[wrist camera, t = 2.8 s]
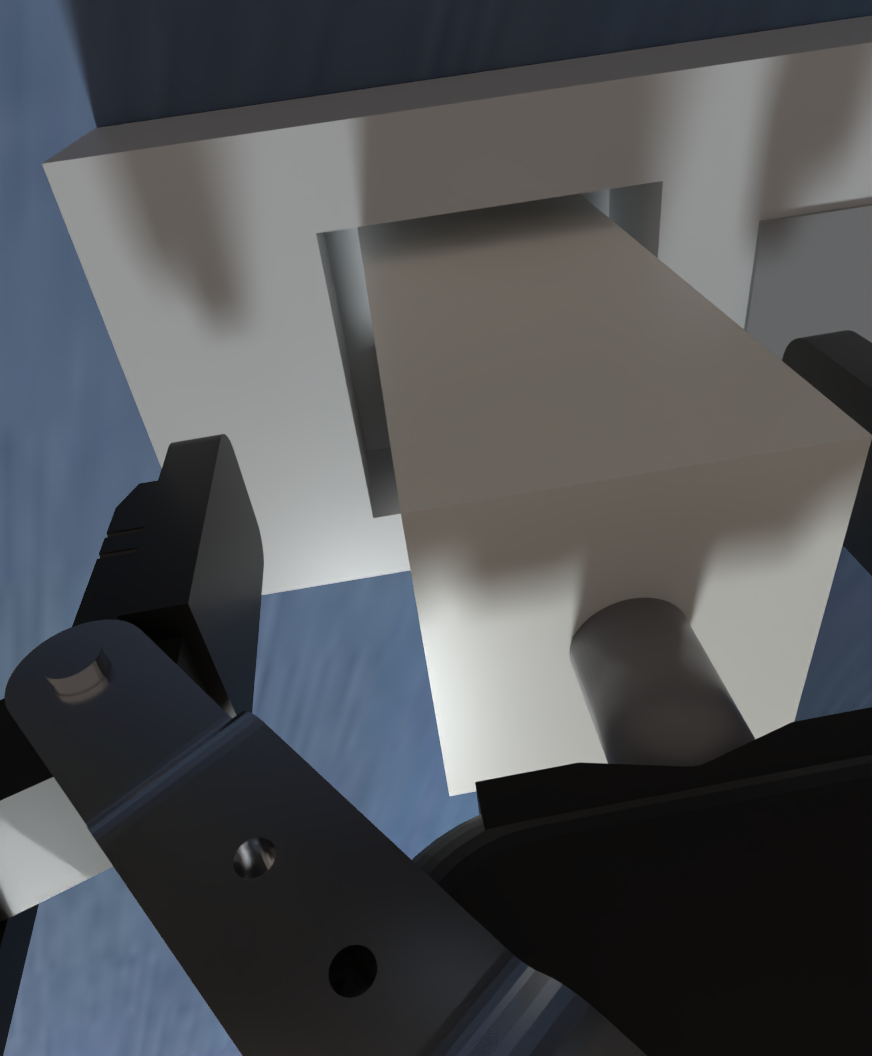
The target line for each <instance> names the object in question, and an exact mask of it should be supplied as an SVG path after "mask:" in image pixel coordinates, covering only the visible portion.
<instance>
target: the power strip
mask: <svg viewBox="0 0 872 1056" xmlns="http://www.w3.org/2000/svg"><path fill="white" fill-rule="evenodd" d="M42 165H43V167H44V170H45V173H46V175H47V178H48V180H49V183H50V185H51V188H52V190H53V193H54V195H55V198H56V201H57V203H58V206H59V208H60V211H61V213H62V216H63V218H64V221H65V223H66V226H67V229H68V231H69V234H70V236H71V239H72V241H73V244H74V246H75V249H76V252H77V254H78V257H79V259H80V262H81V264H82V267H83V269H84V272H85V274H86V277H87V280H88V282H89V285H90V287H91V290H92V292H93V295H94V297H95V300H96V302H97V305H98V308H99V310H100V313H101V315H102V318H103V320H104V323H105V325H106V328H107V330H108V333H109V336H110V338H111V341H112V343H113V346H114V348H115V351H116V353H117V356H118V359H119V361H120V364H121V366H122V369H123V371H124V374H125V376H126V379H127V381H128V384H129V387H130V389H131V392H132V394H133V397H134V399H135V402H136V404H137V407H138V409H139V412H140V415H141V417H142V420H143V422H144V425H145V427H146V430H147V432H148V435H149V437H150V440H151V443H152V445H153V448H154V450H155V453H156V455H157V458H158V460H159V463H160V465H161V468H162V466H163V463H164V460H165V457H166V453H167V450H168V447H169V445H170V444H171V443H172V442H178V441H184V440H190V439H196V438H202V437H208V436H214V435H220V434H226V435H227V437H228V438H229V440H230V442H231V444H232V446H233V449H234V452H235V455H236V458H237V461H238V464H239V467H240V470H241V474H242V477H243V480H244V483H245V486H246V489H247V492H248V495H249V498H250V501H251V504H252V507H253V510H254V513H255V517H256V520H257V523H258V526H259V530H260V535H261V540H262V546H263V554H264V570H263V583H262V595H265V594H271V593H277V592H283V591H289V590H295V589H301V588H307V587H313V586H319V585H325V584H331V583H337V582H343V581H349V580H355V579H361V578H367V577H373V576H379V575H385V574H391V573H397V572H403V571H409V570H410V564H409V558H408V552H407V546H406V541H405V535H404V529H403V523H402V518H401V512H400V505H399V498H398V492H397V485H396V479H395V472H394V465H393V459H392V452H391V446H390V439H389V433H388V426H387V419H386V413H385V406H384V400H383V393H382V387H381V380H380V373H379V367H378V360H377V354H376V347H375V340H374V334H373V327H372V321H371V314H370V308H369V301H368V294H367V288H366V281H365V275H364V268H363V261H362V255H361V248H360V242H359V235H358V229H357V227H362V226H368V225H375V224H382V223H388V222H395V221H401V220H408V219H415V218H421V217H428V216H434V215H441V214H448V213H454V212H461V211H467V210H474V209H481V208H487V207H494V206H501V205H507V204H514V203H520V202H527V201H534V200H540V199H547V198H553V197H560V196H567V195H573V194H580V195H582V196H583V197H584V198H585V199H587V200H588V201H589V202H590V203H591V204H593V205H594V206H595V207H596V208H597V209H599V210H600V211H601V212H602V213H603V214H605V215H606V216H607V217H608V218H610V219H611V220H612V221H613V222H614V223H616V224H617V225H618V226H619V227H620V228H622V229H623V230H624V231H625V232H627V233H628V234H629V235H630V236H631V237H633V238H634V239H635V240H636V241H637V242H639V243H640V244H641V245H642V246H643V247H645V248H646V249H647V250H648V251H650V252H651V253H652V254H653V255H654V256H656V257H657V258H658V259H659V260H660V261H662V262H663V263H664V264H665V265H666V266H668V267H669V268H670V269H671V270H673V271H674V272H675V273H676V274H677V275H679V276H680V277H681V278H682V279H683V280H685V281H686V282H687V283H688V284H690V285H691V286H692V287H693V288H694V289H696V290H697V291H698V292H699V293H700V294H702V295H703V296H704V297H705V298H706V299H708V300H709V301H710V302H711V303H713V304H714V305H715V306H716V307H717V308H719V309H720V310H721V311H722V312H723V313H725V314H726V315H727V316H728V317H729V318H731V319H732V320H733V321H734V322H736V323H737V324H738V325H739V326H740V327H742V328H743V329H744V330H745V331H746V332H748V333H749V334H750V335H751V336H753V337H754V338H755V339H756V340H757V341H759V342H760V343H761V344H762V345H763V346H765V347H766V348H767V349H768V350H769V351H771V352H772V353H773V354H774V355H776V356H777V357H778V358H779V359H780V360H782V358H783V354H784V352H785V349H786V347H787V346H788V344H789V343H790V342H791V341H792V340H794V339H797V338H802V337H808V336H814V335H820V334H826V333H832V332H838V331H844V330H851V331H854V332H856V333H857V334H859V335H860V336H862V337H864V338H865V339H867V340H868V341H870V342H871V343H872V16H865V17H858V18H851V19H844V20H837V21H830V22H823V23H817V24H810V25H803V26H796V27H789V28H782V29H775V30H768V31H761V32H755V33H748V34H741V35H734V36H727V37H720V38H713V39H706V40H699V41H692V42H686V43H679V44H672V45H665V46H658V47H651V48H644V49H637V50H630V51H624V52H617V53H610V54H603V55H596V56H589V57H582V58H575V59H568V60H561V61H555V62H548V63H541V64H534V65H527V66H520V67H513V68H506V69H499V70H492V71H486V72H479V73H472V74H465V75H458V76H451V77H444V78H437V79H430V80H424V81H417V82H410V83H403V84H396V85H389V86H382V87H375V88H368V89H361V90H355V91H348V92H341V93H334V94H327V95H320V96H313V97H306V98H299V99H293V100H286V101H279V102H272V103H265V104H258V105H251V106H244V107H237V108H230V109H224V110H217V111H210V112H203V113H196V114H189V115H182V116H175V117H168V118H162V119H155V120H148V121H141V122H134V123H127V124H120V125H113V126H106V127H99V128H95V129H94V130H92V131H91V132H89V133H88V134H86V135H85V136H83V137H82V138H80V139H79V140H77V141H76V142H74V143H73V144H71V145H70V146H68V147H67V148H65V149H63V150H62V151H60V152H59V153H57V154H56V155H54V156H53V157H51V158H50V159H48V160H47V161H45V162H44V163H42Z"/></svg>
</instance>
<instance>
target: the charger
mask: <svg viewBox="0 0 872 1056" xmlns="http://www.w3.org/2000/svg"><path fill="white" fill-rule="evenodd" d="M357 229H358V235H359V242H360V248H361V255H362V261H363V268H364V275H365V281H366V288H367V294H368V301H369V308H370V314H371V321H372V327H373V334H374V340H375V347H376V354H377V360H378V367H379V373H380V380H381V387H382V393H383V400H384V406H385V413H386V419H387V426H388V433H389V439H390V446H391V452H392V459H393V465H394V472H395V479H396V485H397V492H398V498H399V505H400V512H401V518H402V523H403V529H404V535H405V541H406V546H407V552H408V558H409V564H410V570H411V575H412V581H413V587H414V593H415V599H416V604H417V610H418V616H419V622H420V628H421V633H422V639H423V645H424V651H425V657H426V662H427V668H428V674H429V680H430V685H431V691H432V697H433V703H434V709H435V714H436V720H437V726H438V732H439V738H440V743H441V749H442V755H443V761H444V767H445V772H446V778H447V784H448V790H449V796H453V795H459V794H464V793H470V792H476V785H475V782H478V781H483V780H488V779H494V778H499V777H504V776H510V775H515V774H520V773H526V772H531V771H536V770H541V769H547V768H552V767H557V766H563V765H568V764H573V763H579V762H581V763H607V764H633V765H659V766H697V765H701V764H704V763H707V762H709V761H711V760H713V759H715V758H717V757H720V756H722V755H724V754H726V753H728V752H730V751H732V750H734V749H736V748H739V747H741V746H743V745H745V744H747V743H749V742H751V741H753V740H755V739H757V738H760V737H762V736H764V735H766V734H768V733H770V732H772V731H774V730H776V729H778V728H781V727H783V726H785V725H787V724H789V723H791V722H794V720H795V717H796V713H797V709H798V706H799V702H800V699H801V695H802V691H803V688H804V684H805V680H806V677H807V673H808V669H809V666H810V662H811V658H812V655H813V651H814V648H815V644H816V640H817V637H818V633H819V629H820V626H821V622H822V618H823V615H824V611H825V607H826V604H827V600H828V597H829V593H830V589H831V586H832V582H833V578H834V575H835V571H836V567H837V564H838V560H839V557H840V553H841V549H842V546H843V542H844V538H845V535H846V531H847V527H848V524H849V520H850V516H851V513H852V509H853V506H854V502H855V498H856V495H857V491H858V487H859V484H860V480H861V476H862V473H863V469H864V465H865V462H866V458H867V455H868V451H869V447H870V444H871V440H872V435H871V434H870V433H869V432H868V431H866V430H865V429H864V428H863V427H862V426H860V425H859V424H858V423H857V422H855V421H854V420H853V419H852V418H851V417H849V416H848V415H847V414H846V413H845V412H843V411H842V410H841V409H840V408H839V407H837V406H836V405H835V404H834V403H832V402H831V401H830V400H829V399H828V398H826V397H825V396H824V395H823V394H822V393H820V392H819V391H818V390H817V389H816V388H814V387H813V386H812V385H811V384H809V383H808V382H807V381H806V380H805V379H803V378H802V377H801V376H800V375H799V374H797V373H796V372H795V371H794V370H792V369H791V368H790V367H789V366H788V365H786V364H785V363H784V362H783V361H782V360H780V359H779V358H778V357H777V356H776V355H774V354H773V353H772V352H771V351H769V350H768V349H767V348H766V347H765V346H763V345H762V344H761V343H760V342H759V341H757V340H756V339H755V338H754V337H753V336H751V335H750V334H749V333H748V332H746V331H745V330H744V329H743V328H742V327H740V326H739V325H738V324H737V323H736V322H734V321H733V320H732V319H731V318H729V317H728V316H727V315H726V314H725V313H723V312H722V311H721V310H720V309H719V308H717V307H716V306H715V305H714V304H713V303H711V302H710V301H709V300H708V299H706V298H705V297H704V296H703V295H702V294H700V293H699V292H698V291H697V290H696V289H694V288H693V287H692V286H691V285H690V284H688V283H687V282H686V281H685V280H683V279H682V278H681V277H680V276H679V275H677V274H676V273H675V272H674V271H673V270H671V269H670V268H669V267H668V266H666V265H665V264H664V263H663V262H662V261H660V260H659V259H658V258H657V257H656V256H654V255H653V254H652V253H651V252H650V251H648V250H647V249H646V248H645V247H643V246H642V245H641V244H640V243H639V242H637V241H636V240H635V239H634V238H633V237H631V236H630V235H629V234H628V233H627V232H625V231H624V230H623V229H622V228H620V227H619V226H618V225H617V224H616V223H614V222H613V221H612V220H611V219H610V218H608V217H607V216H606V215H605V214H603V213H602V212H601V211H600V210H599V209H597V208H596V207H595V206H594V205H593V204H591V203H590V202H589V201H588V200H587V199H585V198H584V197H583V196H582V195H580V194H573V195H567V196H560V197H553V198H547V199H540V200H534V201H527V202H520V203H514V204H507V205H501V206H494V207H487V208H481V209H474V210H467V211H461V212H454V213H448V214H441V215H434V216H428V217H421V218H415V219H408V220H401V221H395V222H388V223H382V224H375V225H368V226H362V227H357Z"/></svg>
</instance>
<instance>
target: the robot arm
mask: <svg viewBox="0 0 872 1056" xmlns="http://www.w3.org/2000/svg"><path fill="white" fill-rule="evenodd" d="M782 361H783V362H784V363H785V364H786V365H788V366H789V367H790V368H791V369H792V370H794V371H795V372H796V373H797V374H799V375H800V376H801V377H802V378H803V379H805V380H806V381H807V382H808V383H809V384H811V385H812V386H813V387H814V388H816V389H817V390H818V391H819V392H820V393H822V394H823V395H824V396H825V397H826V398H828V399H829V400H830V401H831V402H832V403H834V404H835V405H836V406H837V407H839V408H840V409H841V410H842V411H843V412H845V413H846V414H847V415H848V416H849V417H851V418H852V419H853V420H854V421H855V422H857V423H858V424H859V425H860V426H862V427H863V428H864V429H865V430H866V431H868V432H869V433H870V434H871V435H872V343H871V342H870V341H868V340H867V339H865V338H864V337H862V336H860V335H859V334H857V333H856V332H854V331H851V330H844V331H838V332H832V333H826V334H820V335H814V336H808V337H802V338H797V339H794V340H792V341H791V342H790V343H789V344H788V346H787V347H786V349H785V352H784V354H783V358H782ZM107 535H108V538H105V539H104V542H103V545H102V547H101V550H100V553H99V555H100V559H97V561H96V564H95V566H94V569H93V572H92V574H91V577H90V580H89V583H88V585H87V588H86V591H85V593H84V596H83V599H82V601H81V604H80V607H79V610H78V612H77V615H76V618H75V620H74V623H73V626H72V627H71V628H69V629H66V630H64V631H62V632H60V633H58V634H56V635H54V636H52V637H50V638H49V639H47V640H46V641H44V642H43V643H41V644H40V645H39V646H37V647H36V648H35V649H34V650H32V651H31V652H30V653H29V654H28V655H27V656H26V657H25V658H24V659H23V660H22V661H21V662H20V663H19V665H18V666H17V667H16V668H15V670H14V671H13V673H12V675H11V676H10V678H9V680H8V683H7V686H6V689H5V696H4V697H5V698H4V699H2V700H0V1056H3V1054H4V1049H5V1045H6V1041H7V1037H8V1032H9V1028H10V1024H11V1020H12V1015H13V1011H14V1007H15V1003H16V998H17V994H18V990H19V986H20V981H21V977H22V973H23V969H24V964H25V960H26V956H27V952H28V947H29V943H30V939H31V935H32V930H33V926H34V922H35V918H36V913H37V909H38V905H39V903H41V902H43V901H45V900H47V899H49V898H51V897H53V896H55V895H57V894H59V893H61V892H63V891H65V890H67V889H69V888H71V887H73V886H75V885H77V884H79V883H81V882H83V881H85V880H87V879H89V878H91V877H93V876H95V875H97V874H99V873H101V872H103V871H105V870H107V869H109V868H111V867H114V868H115V870H116V871H117V873H118V874H119V875H120V877H121V878H122V880H123V881H124V883H125V884H126V886H127V887H128V889H129V890H130V892H131V893H132V895H133V896H134V897H135V899H136V900H137V902H138V903H139V905H140V906H141V908H142V909H143V911H144V912H145V914H146V915H147V917H148V918H149V919H150V921H151V922H152V924H153V925H154V927H155V928H156V930H157V931H158V933H159V934H160V936H161V937H162V938H163V940H164V941H165V943H166V944H167V946H168V947H169V949H170V950H171V952H172V953H173V955H174V956H175V958H176V959H177V960H178V962H179V963H180V965H181V966H182V968H183V969H184V971H185V972H186V974H187V975H188V977H189V978H190V979H191V981H192V982H193V984H194V985H195V987H196V988H197V990H198V991H199V993H200V994H201V996H202V997H203V999H204V1000H205V1001H206V1003H207V1004H208V1006H209V1007H210V1009H211V1010H212V1012H213V1013H214V1015H215V1016H216V1018H217V1019H218V1021H219V1022H220V1023H221V1025H222V1026H223V1028H224V1029H225V1031H226V1032H227V1034H228V1035H229V1037H230V1038H231V1040H232V1041H233V1042H234V1044H235V1045H236V1047H237V1048H238V1050H239V1051H240V1053H241V1054H242V1056H872V707H871V708H866V709H860V710H855V711H850V712H844V713H839V714H834V715H828V716H823V717H818V718H813V719H807V720H802V721H797V722H791V723H789V724H787V725H785V726H783V727H781V728H778V729H776V730H774V731H772V732H770V733H768V734H766V735H764V736H762V737H760V738H757V739H755V740H753V741H751V742H749V743H747V744H745V745H743V746H741V747H739V748H736V749H734V750H732V751H730V752H728V753H726V754H724V755H722V756H720V757H717V758H715V759H713V760H711V761H709V762H707V763H704V764H701V765H697V766H659V765H633V764H607V763H581V762H579V763H573V764H568V765H563V766H557V767H552V768H547V769H541V770H536V771H531V772H526V773H520V774H515V775H510V776H504V777H499V778H494V779H488V780H483V781H478V782H475V785H476V792H477V799H478V806H479V813H480V815H478V816H476V817H474V818H472V819H470V820H468V821H466V822H464V823H462V824H460V825H458V826H456V827H455V828H453V829H452V830H450V831H448V832H447V833H445V834H444V835H442V836H441V837H439V838H437V839H436V840H435V841H434V842H432V843H431V844H430V845H429V846H427V847H426V848H425V849H424V850H422V851H421V852H420V853H419V854H418V855H416V856H415V857H414V858H413V859H412V860H411V859H410V858H409V857H408V856H407V855H406V854H405V853H404V852H403V851H401V850H400V849H399V848H398V847H397V846H396V845H395V844H394V843H393V842H392V841H391V840H390V839H389V838H387V837H386V836H385V835H384V834H383V833H382V832H381V831H380V830H379V829H378V828H377V827H376V826H375V825H374V824H372V823H371V822H370V821H369V820H368V819H367V818H366V817H365V816H364V815H363V814H362V813H361V812H360V811H359V810H357V809H356V808H355V807H354V806H353V805H352V804H351V803H350V802H349V801H348V800H347V799H346V798H345V797H343V796H342V795H341V794H340V793H339V792H338V791H337V790H336V789H335V788H334V787H333V786H332V785H331V784H330V783H328V782H327V781H326V780H325V779H324V778H323V777H322V776H321V775H320V774H319V773H318V772H317V771H316V770H315V769H313V768H312V767H311V766H310V765H309V764H308V763H307V762H306V761H305V760H304V759H303V758H302V757H301V756H299V755H298V754H297V753H296V752H295V751H294V750H293V749H292V748H291V747H290V746H289V745H288V744H287V743H286V742H284V741H283V740H282V739H281V738H280V737H279V736H278V735H277V734H276V733H275V732H274V731H273V730H272V729H270V728H269V727H268V726H267V725H266V724H265V723H264V722H263V721H262V720H261V719H259V718H258V717H257V716H255V715H254V714H252V706H253V694H254V681H255V669H256V657H257V644H258V632H259V620H260V607H261V595H262V583H263V570H264V554H263V546H262V540H261V535H260V530H259V526H258V523H257V520H256V517H255V513H254V510H253V507H252V504H251V501H250V498H249V495H248V492H247V489H246V486H245V483H244V480H243V477H242V474H241V470H240V467H239V464H238V461H237V458H236V455H235V452H234V449H233V446H232V444H231V442H230V440H229V438H228V437H227V435H226V434H220V435H214V436H208V437H202V438H196V439H190V440H184V441H178V442H172V443H171V444H170V445H169V447H168V450H167V453H166V457H165V460H164V463H163V466H162V470H161V473H160V476H159V480H158V481H153V482H147V483H141V484H139V485H138V486H137V487H136V488H135V489H134V490H133V491H132V492H131V493H130V494H129V495H128V496H127V497H126V498H125V499H124V500H123V501H122V502H121V503H120V504H119V505H118V506H117V507H116V509H115V512H114V515H113V517H112V520H111V523H110V526H109V528H108V531H107ZM843 546H844V547H845V548H846V549H847V550H848V551H849V552H850V553H851V554H852V555H853V556H854V557H855V558H856V559H857V561H858V562H859V563H860V564H861V565H862V566H863V567H864V568H865V569H866V570H867V571H868V572H869V573H870V574H871V575H872V440H871V444H870V447H869V451H868V455H867V458H866V462H865V465H864V469H863V473H862V476H861V480H860V484H859V487H858V491H857V495H856V498H855V502H854V506H853V509H852V513H851V516H850V520H849V524H848V527H847V531H846V535H845V538H844V542H843Z"/></svg>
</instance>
